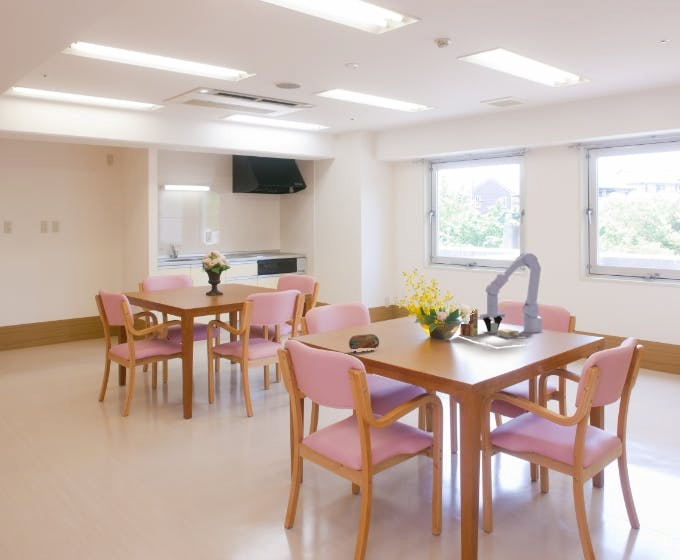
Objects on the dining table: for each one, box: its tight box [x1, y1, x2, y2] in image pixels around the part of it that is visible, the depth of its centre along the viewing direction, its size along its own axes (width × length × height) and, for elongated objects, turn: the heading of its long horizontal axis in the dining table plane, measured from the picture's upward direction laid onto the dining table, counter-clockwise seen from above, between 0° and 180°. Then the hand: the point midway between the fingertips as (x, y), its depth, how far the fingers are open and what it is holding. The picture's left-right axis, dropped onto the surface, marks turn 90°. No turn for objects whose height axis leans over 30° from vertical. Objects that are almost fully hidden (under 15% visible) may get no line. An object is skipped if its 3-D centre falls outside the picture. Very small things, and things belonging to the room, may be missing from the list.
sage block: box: [486, 322, 499, 333], centre depth 326 cm, size 4×4×5 cm
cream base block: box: [499, 328, 520, 338], centre depth 315 cm, size 7×7×3 cm
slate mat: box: [482, 329, 530, 341], centre depth 319 cm, size 14×25×1 cm, turn 17°
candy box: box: [459, 308, 479, 337], centre depth 321 cm, size 9×4×15 cm, turn 39°
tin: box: [348, 333, 380, 350], centre depth 292 cm, size 15×3×8 cm, turn 105°
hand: (492, 330), depth 326 cm, fingers open, 4 cm apart
